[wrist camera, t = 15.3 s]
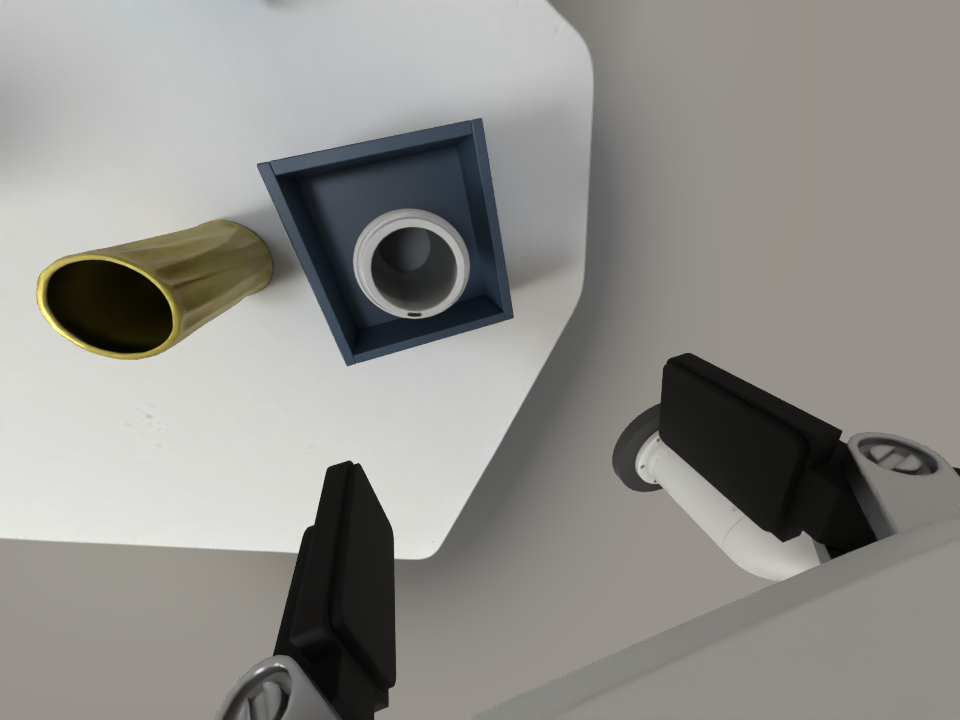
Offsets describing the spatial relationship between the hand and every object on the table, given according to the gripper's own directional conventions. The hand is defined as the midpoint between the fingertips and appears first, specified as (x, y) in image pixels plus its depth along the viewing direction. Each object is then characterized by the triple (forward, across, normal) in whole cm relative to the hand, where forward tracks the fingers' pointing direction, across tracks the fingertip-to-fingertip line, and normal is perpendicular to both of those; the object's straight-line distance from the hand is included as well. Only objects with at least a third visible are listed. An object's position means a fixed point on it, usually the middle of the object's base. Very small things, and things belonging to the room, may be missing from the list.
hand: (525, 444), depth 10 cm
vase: (+26, +16, -5) cm, 31 cm away
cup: (+25, +2, -3) cm, 26 cm away
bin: (+26, +2, -3) cm, 26 cm away
